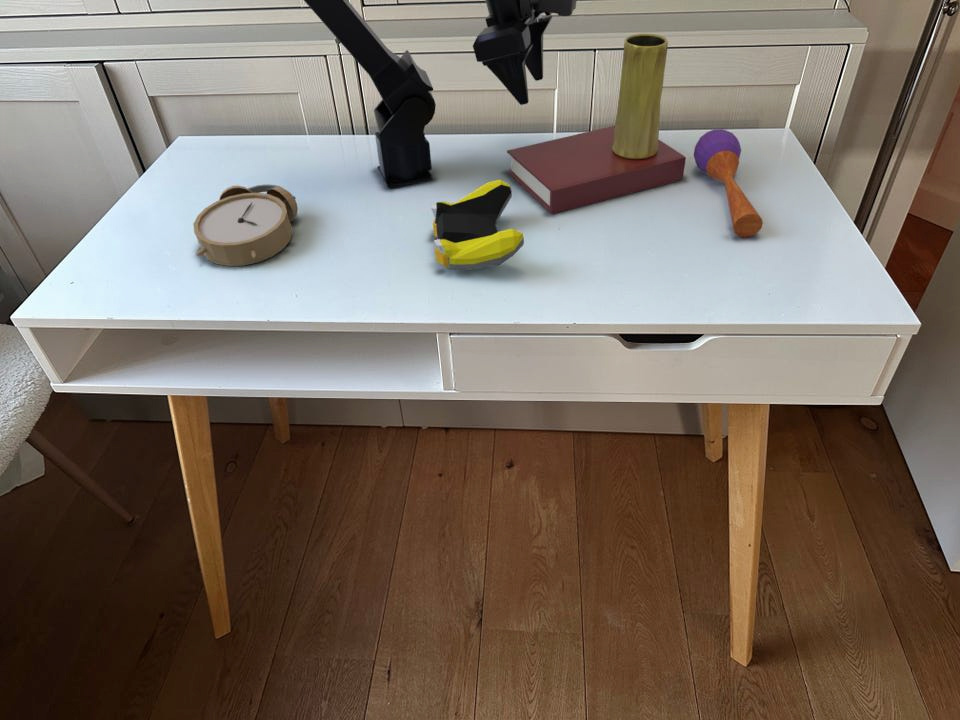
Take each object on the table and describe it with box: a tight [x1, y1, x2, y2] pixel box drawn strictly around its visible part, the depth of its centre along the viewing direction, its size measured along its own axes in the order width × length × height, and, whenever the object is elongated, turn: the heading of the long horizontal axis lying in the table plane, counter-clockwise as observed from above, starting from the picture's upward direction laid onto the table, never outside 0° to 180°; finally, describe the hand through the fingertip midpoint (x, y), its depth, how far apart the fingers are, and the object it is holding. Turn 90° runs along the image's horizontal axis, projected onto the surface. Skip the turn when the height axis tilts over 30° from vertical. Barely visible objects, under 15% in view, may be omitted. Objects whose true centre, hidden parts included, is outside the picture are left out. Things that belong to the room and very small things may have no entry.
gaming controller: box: [430, 179, 525, 271], centre depth 85 cm, size 15×6×10 cm
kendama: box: [693, 128, 764, 238], centre depth 91 cm, size 6×6×20 cm
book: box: [506, 125, 687, 215], centre depth 98 cm, size 20×13×3 cm, turn 113°
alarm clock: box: [193, 184, 299, 267], centre depth 90 cm, size 11×5×15 cm
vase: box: [612, 33, 669, 159], centre depth 93 cm, size 6×6×14 cm
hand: (532, 91), depth 95 cm, fingers open, 9 cm apart
